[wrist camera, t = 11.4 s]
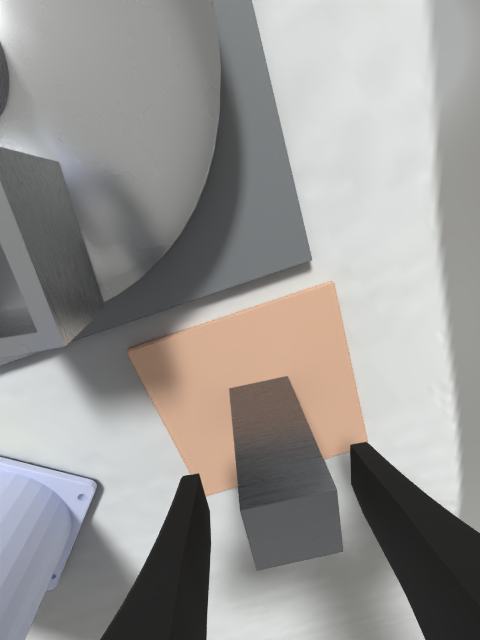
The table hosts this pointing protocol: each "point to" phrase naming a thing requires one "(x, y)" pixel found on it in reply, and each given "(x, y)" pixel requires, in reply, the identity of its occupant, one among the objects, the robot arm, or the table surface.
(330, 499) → the dark grey rectangular block
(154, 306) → the base plate
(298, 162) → the table surface
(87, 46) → the metal pot lid
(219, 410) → the mat
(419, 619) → the robot arm
